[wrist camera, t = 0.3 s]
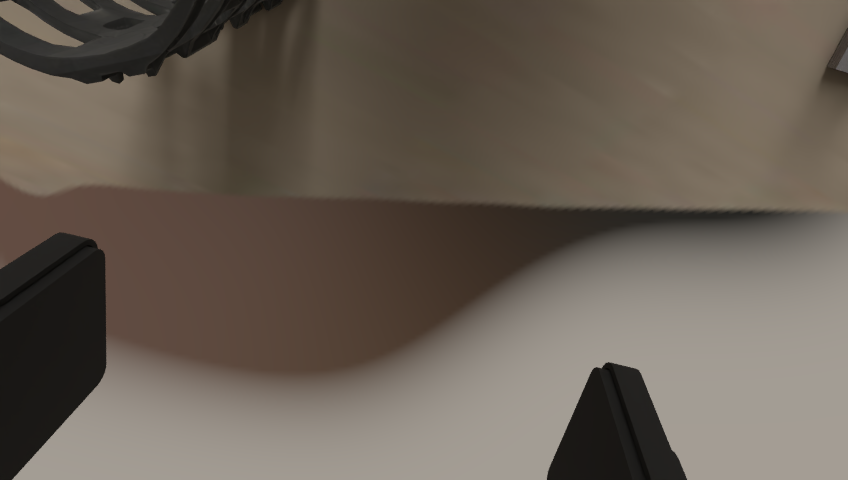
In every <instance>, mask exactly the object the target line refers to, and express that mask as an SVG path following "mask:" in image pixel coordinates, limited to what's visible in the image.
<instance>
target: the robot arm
mask: <svg viewBox="0 0 848 480" xmlns="http://www.w3.org/2000/svg"><path fill="white" fill-rule="evenodd" d="M105 369H106V296H105V254H104V252H103V251H102V250H100V249H98V248H97V244H96V243H95V241H94V240H92V239H88V238H84V237H80V236H75V235H71V234H66V233H57V234H55V235H53V236H52V237H50V238H49V239H47V240H46V241H44V242H42V243H41V244H40V245H38V246H36V247H35V248H33V249H31V250H30V251H28V252H27V253H25V254H24V255H22V256H20V257H19V258H17V259H16V260H14V261H13V262H11V263H9V264H8V265H6V266H5V267H3V268H2V269H0V480H12V479H13V478H14V477H15V476H16V475H17V474H18V472H19V471H20V470H21V469H22V468H23V467H24V466H25V464H27V462H28V461H29V460H30V459H31V458H32V457H33V456H34V454H36V452H37V451H38V450H39V449H40V448H41V447H42V446H43V445H44V444H45V443H46V441H47V440H48V439H49V438H50V437H51V436H52V435H53V434H54V433H55V431H56V430H57V429H58V428H59V427H60V426H61V425H62V424H63V423H64V421H65V420H66V419H67V418H68V417H69V416H70V415H71V414H72V413H73V411H74V410H75V409H76V408H77V407H78V406H79V405H80V404H81V403H82V402H83V400H85V398H86V397H87V396H88V395H89V394H90V393H91V392H92V391H93V390H94V388H95V387H96V386H97V385H98V384H99V382H100V381H101V379H102V377H103V375H104V373H105ZM547 480H687V478H686V476H685V473H684V471H683V468H682V466H681V464H680V461H679V459H678V457H677V456H676V454H675V453H674V452H673V451H672V450H671V447H670V445H669V442H668V440H667V437H666V435H665V433H664V430H663V428H662V425H661V423H660V420H659V418H658V415H657V413H656V410H655V408H654V405H653V403H652V400H651V398H650V395H649V393H648V391H647V388H646V385H645V383H644V380H643V378H642V375H641V373H640V372H639V370H637V369H634V368H630V367H626V366H622V365H618V364H614V363H609V362H608V363H606V364H605V365H604V366H603V367H602V368H597V367H596V368H594V369H593V370H592V372H591V374H590V376H589V379H588V381H587V383H586V385H585V388H584V390H583V392H582V395H581V397H580V399H579V402H578V404H577V406H576V408H575V410H574V413H573V415H572V417H571V420H570V422H569V424H568V427H567V429H566V431H565V433H564V436H563V438H562V440H561V443H560V445H559V447H558V449H557V452H556V454H555V456H554V459H553V461H552V463H551V466H550V468H549V471H548V475H547Z"/></svg>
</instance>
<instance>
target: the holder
mask: <svg viewBox="0 0 848 480" xmlns="http://www.w3.org/2000/svg"><path fill="white" fill-rule="evenodd" d="M2 1H7V0H0V2H2ZM12 1H14V2H15V3H17V4H19V5H21V6H22V7H24V8H26V9H28V10H29V11H31V12H32V13H34V14H35V15H36V16H38V17H39V18H40V19H42V20H43V21H44V22H46V23H47V24H49V25H51V26H52V27H54V28H56V29H57V30H59V31H61V32H62V33H64V34H66V35H68V36H70V37H72V38H74V39H77V40H79V41H81V42H83V43H85V44H83V45H81V46H78V47H69V46H62V45H54V44H51V43H48V42H46V41H43V40H41V39H39V38H36V37H34V36H32V35H30V34H28V33H26V32H24V31H22V30H20V29H19V28H17V27H15V26H14V25H12V24H10V23H9V22H7V21H6V20H4V19H3V18H1V17H0V54H2V55H3V56H5V57H7V58H9V59H11V60H13V61H15V62H17V63H20V64H22V65H24V66H26V67H29V68H31V69H34V70H37V71H40V72H43V73H46V74H49V75H53V76H59V77H66V78H72V79H75V80H78V81H80V82H83V83H86V84H89V83H95V82H101V81H104V80H106V79H107V78H109V79H110V80H111V81H113V82H116V83H121V82H122V81H123V80H124V77H123V73H124V74H126V75H128V76H135V75H140V74H145V73H147V75H148V77H150V76H156V75H157V73H158V71H159V69H160V67H161V65H162V63H163V61H164V59H165V58H167V57H169V56H171V55H173V54H175V53H177V54H179V55H180V56H181V57H183V58H187V57H189V56H191V55H192V54H194V53H196V52H197V51H199V50H201V49H202V48H204V47H206V46H207V45H209V44H211V43H212V42H214V41H216V40H217V37H218V35H219V33H220V30H222V29H223V27H224V23H225V22H227V21H228V20H230V22H231V24H232V26H233V27H234V28H236V29H238V28H240V27H241V26H243V25H244V24H246V23H247V22H248V20H249V18H250V16H251V15H253V14H255V13H256V12H258V11H260V10H261V9H262V7H261V4H260V3H261V2H262V3H263V5H264V7H265V9H266V10H267V11H270V10H271V9H273V8H275V7H276V6H278V5H280V4H281V2H282V0H131V1H132V2H134V3H136V4H137V5H139V6H140V7H142V8H144V9H146V10H148V11H149V12H151V13H153V14H155V15H145V14H142V13H139V12H136V11H133V10H130V9H128V8H126V7H124V6H121V5H119V4H117V3H116V2H114V1H113V0H80V1H81V2H83V3H84V4H86V5H87V6H89V7H90V8H92V9H93V10H94V11H92V12H88V13H85V14H81V15H78V14H75V13H73V12H71V11H68V10H66V9H64V8H63V7H62V6H60V5H59V4H58V3H56V2H55V1H54V0H12Z"/></svg>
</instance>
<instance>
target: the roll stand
mask: <svg viewBox="0 0 848 480" xmlns="http://www.w3.org/2000/svg"><path fill="white" fill-rule="evenodd" d="M827 67H829V68H833V69H836V70H840V71H843V72H847V73H848V29H847V30H846V32H845V34H844V36H843V38H842V40H841V42H840V43H839V45H838V47H837V49H836V51H835V53H834V54H833V56H832V58H831V60H830V62H829V64H828V65H827Z"/></svg>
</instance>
